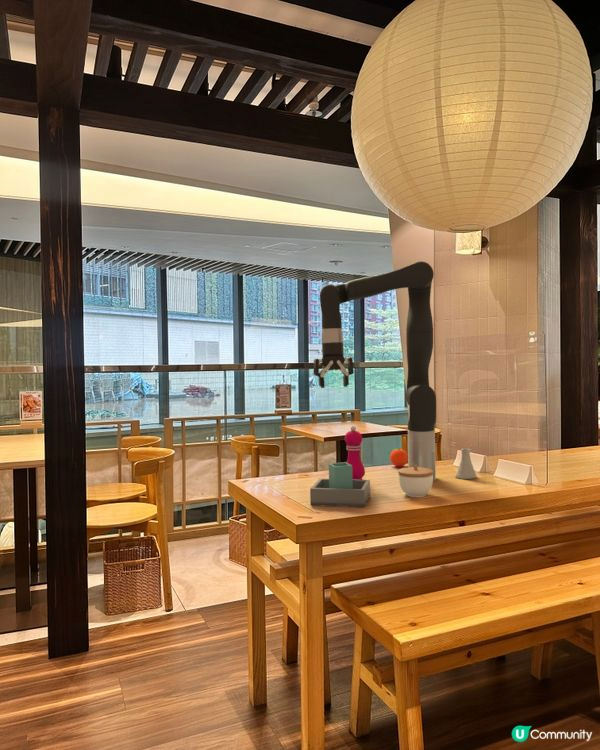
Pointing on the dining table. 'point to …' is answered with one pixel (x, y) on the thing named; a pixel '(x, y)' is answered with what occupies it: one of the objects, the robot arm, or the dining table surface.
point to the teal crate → (340, 476)
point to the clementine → (398, 457)
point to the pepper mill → (354, 453)
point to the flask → (466, 466)
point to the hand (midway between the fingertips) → (334, 387)
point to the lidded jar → (415, 480)
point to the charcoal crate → (340, 494)
